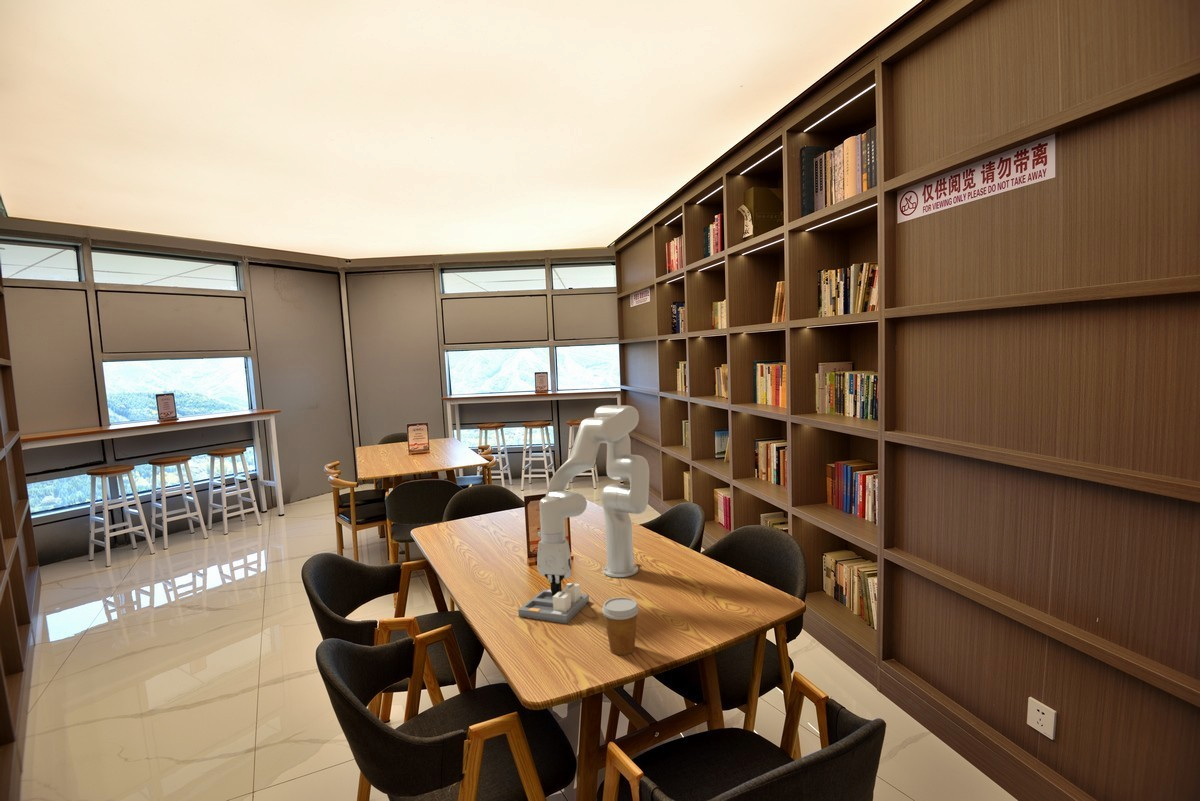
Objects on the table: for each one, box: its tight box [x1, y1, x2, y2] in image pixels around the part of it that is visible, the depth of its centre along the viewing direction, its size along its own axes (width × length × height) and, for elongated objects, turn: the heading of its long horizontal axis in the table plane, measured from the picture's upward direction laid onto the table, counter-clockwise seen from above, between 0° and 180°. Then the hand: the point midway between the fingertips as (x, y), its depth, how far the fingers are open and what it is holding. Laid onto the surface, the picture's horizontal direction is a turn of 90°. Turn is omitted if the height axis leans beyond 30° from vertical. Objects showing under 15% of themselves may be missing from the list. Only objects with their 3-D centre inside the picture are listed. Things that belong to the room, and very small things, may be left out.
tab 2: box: [562, 582, 581, 603], centre depth 170 cm, size 4×4×5 cm
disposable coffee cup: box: [601, 596, 640, 656], centre depth 142 cm, size 10×10×12 cm
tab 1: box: [553, 592, 571, 613], centre depth 164 cm, size 4×4×5 cm
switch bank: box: [517, 588, 590, 624], centre depth 169 cm, size 16×16×2 cm
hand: (556, 594), depth 173 cm, fingers closed
